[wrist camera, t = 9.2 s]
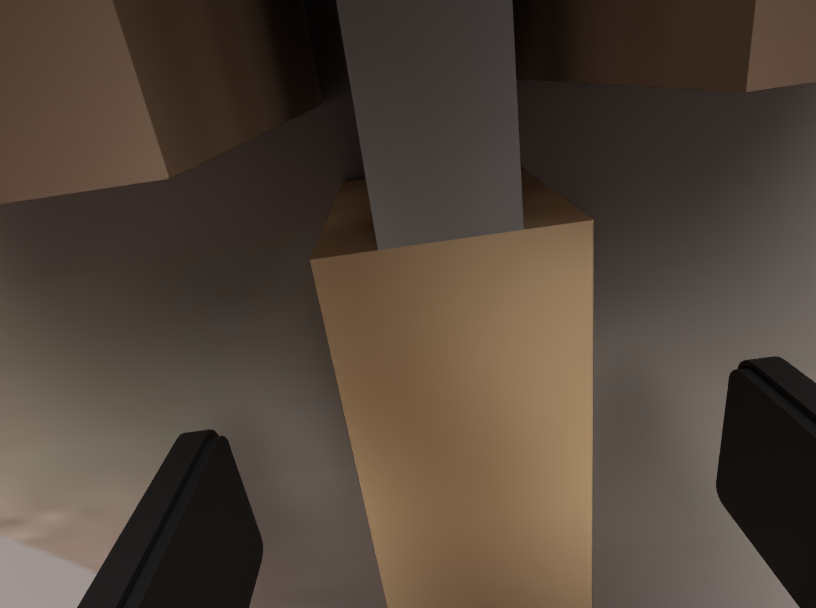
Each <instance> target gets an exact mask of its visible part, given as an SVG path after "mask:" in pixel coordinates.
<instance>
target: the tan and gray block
mask: <svg viewBox="0 0 816 608" xmlns="http://www.w3.org/2000/svg"><path fill="white" fill-rule="evenodd" d="M336 4H337V10H338V16H339V22H340V28H341V34H342V40H343V46H344V52H345V57H346V63H347V69H348V75H349V81H350V87H351V93H352V99H353V105H354V111H355V117H356V123H357V129H358V135H359V141H360V147H361V153H362V159H363V165H364V171H365V177H366V179H361V180H354V181H347V182H343V183H342V185H341V188H340V190H339V192H338V195H337V197H336V199H335V202H334V204H333V206H332V209H331V211H330V214H329V216H328V218H327V221H326V223H325V225H324V228H323V230H322V232H321V235H320V237H319V239H318V242H317V244H316V246H315V249H314V251H313V253H312V256H311V258H310V264H311V268H312V273H313V277H314V281H315V286H316V290H317V295H318V299H319V304H320V308H321V313H322V317H323V322H324V326H325V331H326V335H327V339H328V344H329V348H330V353H331V357H332V362H333V366H334V371H335V375H336V380H337V384H338V389H339V393H340V398H341V402H342V406H343V411H344V415H345V420H346V424H347V429H348V433H349V438H350V442H351V447H352V451H353V456H354V460H355V464H356V469H357V473H358V478H359V482H360V487H361V491H362V496H363V500H364V505H365V509H366V514H367V518H368V522H369V527H370V531H371V536H372V540H373V545H374V549H375V554H376V558H377V563H378V567H379V572H380V576H381V581H382V585H383V589H384V594H385V598H386V603H387V607H388V608H592V451H593V234H594V220H593V219H592V218H590V217H589V216H588V215H586V214H585V213H583V212H582V211H581V210H579V209H578V208H577V207H575V206H574V205H573V204H571V203H570V202H569V201H567V200H566V199H564V198H563V197H562V196H560V195H559V194H558V193H556V192H555V191H554V190H552V189H551V188H549V187H548V186H547V185H545V184H544V183H543V182H541V181H540V180H539V179H537V178H536V177H535V176H533V175H532V174H530V173H529V172H528V171H526V170H525V169H524V168H522V167H521V163H520V143H519V123H518V103H517V83H516V64H515V44H514V24H513V4H512V0H336Z"/></svg>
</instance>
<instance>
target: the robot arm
mask: <svg viewBox="0 0 816 608" xmlns="http://www.w3.org/2000/svg"><path fill="white" fill-rule="evenodd" d="M716 488H717V493H718V496H719V499H720V501H721V503H722V504H723V506H724V507H725V508H726V510H727V511H728V512H729V514H730V515H731V516H732V518H733V519H734V520H735V522H736V523H737V524H738V526H739V527H740V528H741V530H742V531H743V532H744V534H745V535H746V536H747V538H748V539H749V540H750V542H751V543H752V544H753V546H754V547H755V548H756V550H757V551H758V552H759V554H760V555H761V556H762V558H763V559H764V560H765V562H766V563H767V564H768V566H769V567H770V568H771V570H772V571H773V572H774V574H775V575H776V576H777V578H778V579H779V581H780V582H781V583H782V585H783V586H784V587H785V589H786V590H787V591H788V593H789V594H790V595H791V597H792V598H793V599H794V601H795V602H796V603H797V605H798V606H799V607H800V608H816V383H815V382H813V381H812V380H811V379H809V378H808V377H807V376H805V375H804V374H803V373H801V372H800V371H799V370H797V369H796V368H795V367H793V366H792V365H791V364H789V363H788V362H787V361H785V360H784V359H782V358H780V357H767V358H759V359H751V360H744V361H742V362H741V363H740V364H739V366H738V368H737V370H733V371H732V372H731V373H730V376H729V383H728V391H727V399H726V407H725V415H724V423H723V431H722V439H721V447H720V455H719V464H718V472H717V480H716ZM262 556H263V543H262V538H261V535H260V532H259V529H258V526H257V523H256V521H255V518H254V515H253V512H252V509H251V506H250V503H249V500H248V497H247V494H246V492H245V489H244V486H243V483H242V480H241V477H240V474H239V471H238V468H237V465H236V463H235V460H234V457H233V454H232V451H231V448H230V445H229V442H228V440H227V438H226V437H225V436H218V434H217V433H216V432H215V431H214V430H204V431H196V432H188V433H183V434H180V436H179V437H178V438H177V440H176V441H175V443H174V445H173V447H172V448H171V450H170V452H169V453H168V455H167V457H166V458H165V460H164V462H163V463H162V465H161V467H160V469H159V470H158V472H157V474H156V475H155V477H154V479H153V480H152V482H151V484H150V485H149V487H148V489H147V490H146V492H145V494H144V496H143V497H142V499H141V501H140V502H139V504H138V506H137V507H136V509H135V511H134V512H133V514H132V516H131V518H130V519H129V521H128V523H127V524H126V526H125V528H124V529H123V531H122V533H121V534H120V536H119V538H118V540H117V541H116V543H115V545H114V546H113V548H112V550H111V551H110V553H109V555H108V556H107V558H106V560H105V562H104V563H103V565H102V567H101V568H100V570H99V572H98V573H97V575H96V577H95V579H94V580H93V582H92V584H91V585H90V587H89V589H88V590H87V592H86V594H85V595H84V597H83V599H82V600H81V602H80V604H79V606H78V607H77V608H249V605H250V601H251V598H252V594H253V590H254V587H255V583H256V579H257V576H258V572H259V568H260V565H261V561H262Z"/></svg>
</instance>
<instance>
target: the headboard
mask: <svg viewBox="0 0 816 608" xmlns="http://www.w3.org/2000/svg"><path fill="white" fill-rule="evenodd" d="M512 4H513V24H514V44H515V64H516V79H528V80H545V81H562V82H579V83H596V84H613V85H630V86H647V87H664V88H681V89H698V90H715V91H733V92H751V91H758V90H765V89H771V88H778V87H785V86H791V85H798V84H805V83H811V82H816V0H512ZM321 104H323V101H322V95H321V90H320V85H319V80H318V75H317V69H316V64H315V59H314V54H313V49H312V44H311V38H310V33H309V28H308V23H307V18H306V12H305V7H304V2H303V0H0V204H5V203H12V202H18V201H25V200H32V199H38V198H45V197H52V196H58V195H65V194H72V193H78V192H85V191H92V190H98V189H105V188H112V187H118V186H125V185H132V184H138V183H145V182H152V181H158V180H165V179H170V178H172V177H174V176H176V175H178V174H180V173H182V172H184V171H186V170H189V169H191V168H193V167H195V166H197V165H199V164H201V163H203V162H205V161H207V160H209V159H211V158H213V157H215V156H217V155H219V154H221V153H223V152H225V151H227V150H229V149H231V148H234V147H236V146H238V145H240V144H242V143H244V142H246V141H248V140H250V139H252V138H254V137H256V136H258V135H260V134H262V133H264V132H266V131H268V130H270V129H272V128H274V127H276V126H278V125H281V124H283V123H285V122H287V121H289V120H291V119H293V118H295V117H297V116H299V115H301V114H303V113H305V112H307V111H309V110H311V109H313V108H315V107H317V106H319V105H321Z"/></svg>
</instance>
